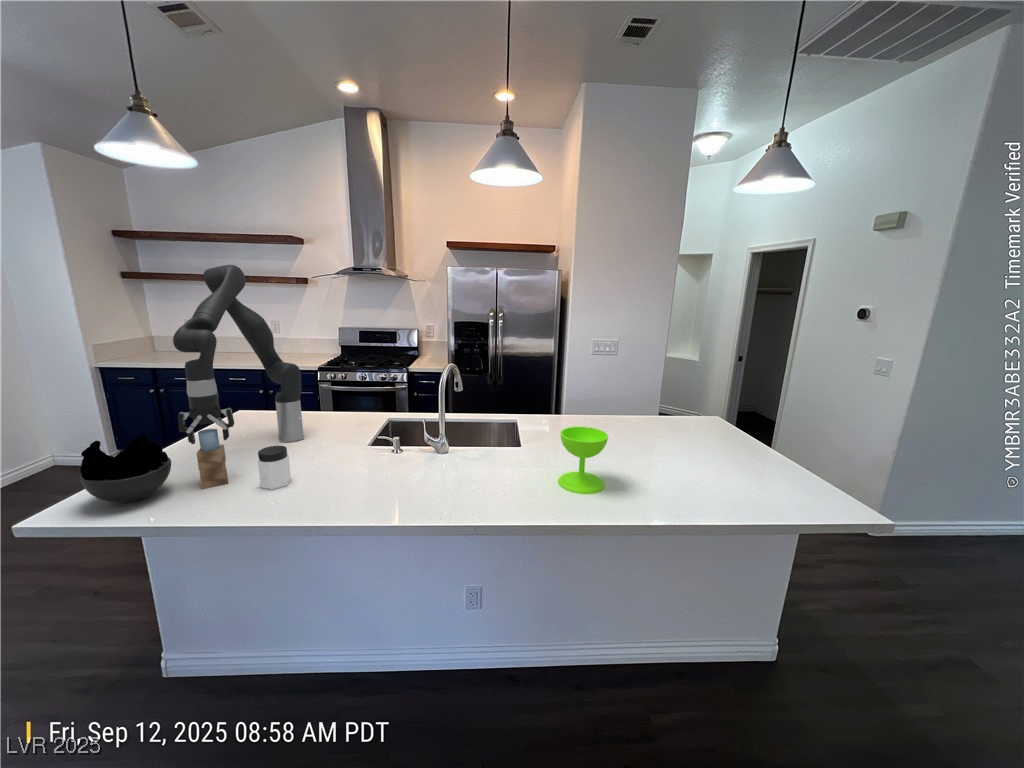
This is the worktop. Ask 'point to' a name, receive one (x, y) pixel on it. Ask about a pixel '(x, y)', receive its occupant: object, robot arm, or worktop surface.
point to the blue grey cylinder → (208, 440)
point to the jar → (274, 467)
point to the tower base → (213, 477)
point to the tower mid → (211, 459)
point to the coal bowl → (124, 471)
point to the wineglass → (582, 458)
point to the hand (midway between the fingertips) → (209, 441)
